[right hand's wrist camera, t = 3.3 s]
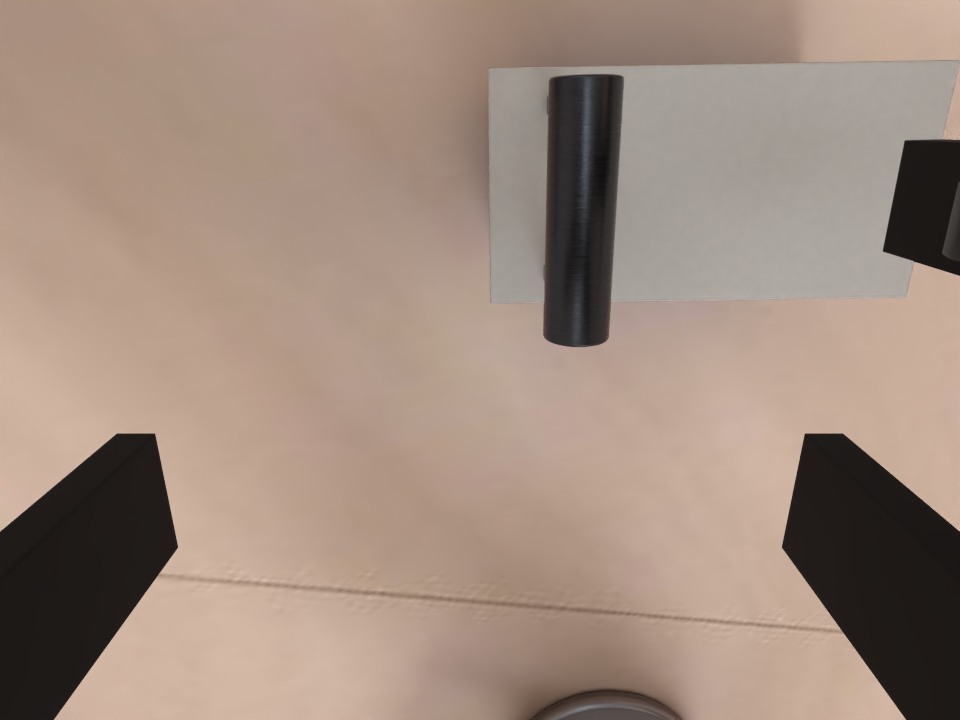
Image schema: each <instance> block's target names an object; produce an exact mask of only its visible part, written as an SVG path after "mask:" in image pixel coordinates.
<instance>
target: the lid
mask: <svg viewBox="0 0 960 720" xmlns="http://www.w3.org/2000/svg"><path fill="white" fill-rule="evenodd" d="M959 64H960V61H959V60H933V61H873V62H813V63H754V64H694V65H635V66H575V67H515V68H489V69H488V135H489V236H490V302H491V304H510V303H544V326H543V335H544V337H545V339H546V340H548V341H549V342H552V343H554V344H558V345H562V346H570V347H588V346H594V345H599V344H602V343H604V342H606V341H607V339H608V337H609V324H610V308H611V302H644V301H711V300H778V299H845V298H904V297H906V294H907V290H908V286H909V281H910V277H911V273H912V268H913V264H914V261H911V260H908V259H905V258H902V257H898V256H895V255H892V254H889V253H886V252H882V251H883V246H884V241H885V236H886V231H887V226H888V221H889V216H890V211H891V206H892V201H893V196H894V191H895V186H896V181H897V176H898V171H899V166H900V161H901V156H902V151H903V146H904V141H905V140H930V139H942V138H943V134H944V129H945V125H946V121H947V116H948V112H949V108H950V103H951V99H952V95H953V90H954V86H955V82H956V77H957V73H958V69H959Z"/></svg>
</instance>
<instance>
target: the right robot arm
mask: <svg viewBox="0 0 960 720" xmlns="http://www.w3.org/2000/svg"><path fill="white" fill-rule="evenodd" d="M177 548H178V545H177V540H176V535H175V530H174V525H173V520H172V515H171V510H170V505H169V500H168V495H167V490H166V485H165V480H164V476H163V471H162V466H161V461H160V456H159V451H158V446H157V441H156V436H155V434H116V435H115V436H114V437H113V438H111V439H110V440H109V441H108V442H107V443H105V444H104V445H103V446H102V447H101V448H99V449H98V450H97V451H96V452H95V453H93V454H92V455H91V456H90V457H89V458H88V459H86V460H85V461H84V462H83V463H82V464H80V465H79V466H78V467H77V468H76V469H74V470H73V471H72V472H71V473H70V474H68V475H67V476H66V477H65V478H64V479H63V480H61V481H60V482H59V483H58V484H57V485H55V486H54V487H53V488H52V489H51V490H49V491H48V492H47V493H46V494H45V495H43V496H42V497H41V498H40V499H39V500H37V501H36V502H35V503H34V504H33V505H32V506H30V507H29V508H28V509H27V510H26V511H24V512H23V513H22V514H21V515H20V516H18V517H17V518H16V519H15V520H14V521H12V522H11V523H10V524H9V525H8V526H7V527H5V528H4V529H3V530H2V531H1V532H0V720H54V719H55V717H56V716H57V714H58V713H59V712H60V710H61V709H62V708H63V706H64V705H65V703H66V702H67V701H68V699H69V698H70V696H71V695H72V694H73V692H74V691H75V689H76V688H77V687H78V685H79V684H80V683H81V681H82V680H83V678H84V677H85V676H86V674H87V673H88V671H89V670H90V669H91V667H92V666H93V665H94V663H95V662H96V660H97V659H98V658H99V656H100V655H101V653H102V652H103V651H104V649H105V648H106V647H107V645H108V644H109V642H110V641H111V640H112V638H113V637H114V635H115V634H116V633H117V631H118V630H119V629H120V627H121V626H122V624H123V623H124V622H125V620H126V619H127V617H128V616H129V615H130V613H131V612H132V610H133V609H134V608H135V606H136V605H137V604H138V602H139V601H140V599H141V598H142V597H143V595H144V594H145V592H146V591H147V590H148V588H149V587H150V586H151V584H152V583H153V581H154V580H155V579H156V577H157V576H158V574H159V573H160V572H161V570H162V569H163V568H164V566H165V565H166V563H167V562H168V561H169V559H170V558H171V556H172V555H173V554H174V552H175V551H176V550H177ZM782 548H783V550H784V551H785V552H786V554H787V555H788V556H789V558H790V559H791V561H792V562H793V563H794V565H795V566H796V568H797V569H798V570H799V572H800V573H801V574H802V576H803V577H804V579H805V580H806V581H807V583H808V584H809V586H810V587H811V588H812V590H813V591H814V592H815V594H816V595H817V597H818V598H819V599H820V601H821V602H822V604H823V605H824V606H825V608H826V609H827V611H828V612H829V613H830V615H831V616H832V617H833V619H834V620H835V622H836V623H837V624H838V626H839V627H840V629H841V630H842V631H843V633H844V634H845V635H846V637H847V638H848V640H849V641H850V642H851V644H852V645H853V647H854V648H855V649H856V651H857V652H858V653H859V655H860V656H861V658H862V659H863V660H864V662H865V663H866V665H867V666H868V667H869V669H870V670H871V671H872V673H873V674H874V676H875V677H876V678H877V680H878V681H879V683H880V684H881V685H882V687H883V688H884V689H885V691H886V692H887V694H888V695H889V696H890V698H891V699H892V701H893V702H894V703H895V705H896V706H897V708H898V709H899V710H900V712H901V713H902V714H903V716H904V717H905V719H906V720H960V532H959V531H958V530H957V529H956V528H955V527H953V526H952V525H951V524H950V523H949V522H948V521H946V520H945V519H944V518H943V517H942V516H940V515H939V514H938V513H937V512H936V511H934V510H933V509H932V508H931V507H930V506H928V505H927V504H926V503H925V502H924V501H923V500H921V499H920V498H919V497H918V496H917V495H915V494H914V493H913V492H912V491H911V490H909V489H908V488H907V487H906V486H905V485H903V484H902V483H901V482H900V481H899V480H897V479H896V478H895V477H894V476H893V475H892V474H890V473H889V472H888V471H887V470H886V469H884V468H883V467H882V466H881V465H880V464H878V463H877V462H876V461H875V460H874V459H872V458H871V457H870V456H869V455H868V454H867V453H865V452H864V451H863V450H862V449H861V448H859V447H858V446H857V445H856V444H855V443H853V442H852V441H851V440H850V439H849V438H847V437H846V436H845V435H844V434H805V436H804V441H803V446H802V451H801V456H800V461H799V466H798V471H797V476H796V480H795V485H794V490H793V495H792V500H791V505H790V510H789V515H788V520H787V525H786V530H785V535H784V540H783V545H782Z"/></svg>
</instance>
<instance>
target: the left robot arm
mask: <svg viewBox="0 0 960 720" xmlns="http://www.w3.org/2000/svg"><path fill="white" fill-rule="evenodd" d="M882 252H886V253H889V254H892V255H895V256H898V257H902V258H905V259H908V260H911V261H914V262H917V263H921V264H924V265H927V266H930V267H933V268H937V269H940V270H943V271H946V272H949V273H953V274H956V275H959V276H960V140H942V139H930V140H905V141H904V146H903V151H902V156H901V161H900V166H899V171H898V176H897V181H896V186H895V191H894V196H893V201H892V206H891V211H890V216H889V221H888V226H887V231H886V236H885V241H884V246H883V251H882ZM532 720H680V718H679V717H678V716H677V715H676V714H675V713H673V712H672V711H671V710H670V709H668V708H667V707H666V706H664V705H662V704H660V703H659V702H656V701H654V700H652V699H650V698H647V697H644V696H640V695H637V694H632V693H626V692H617V691H602V692H592V693H586V694H581V695H577V696H573V697H570V698H567V699H564V700H562V701H560V702H557V703H555V704H553V705H551V706H550V707H548V708H546V709H545V710H543V711H542V712H540V713H539V714H538V715H536V716H535V717H534V718H533V719H532Z"/></svg>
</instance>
